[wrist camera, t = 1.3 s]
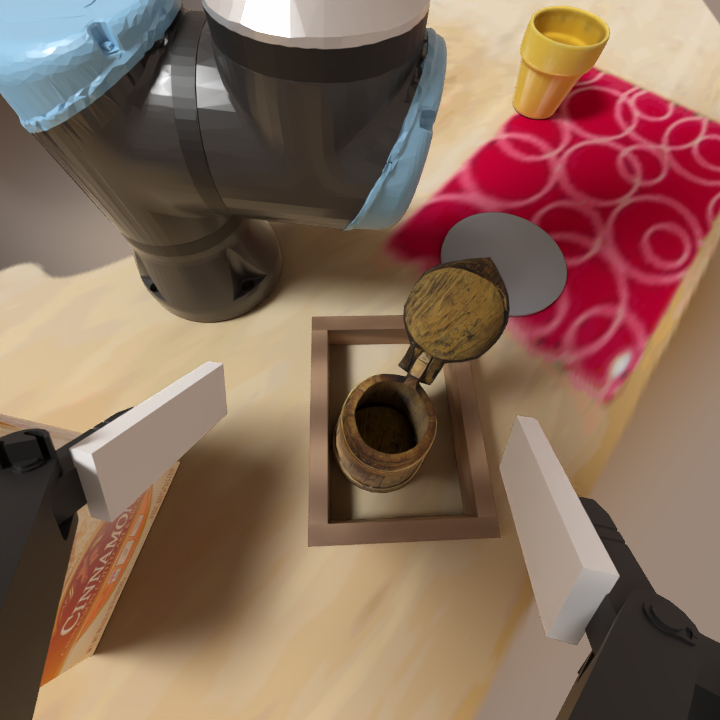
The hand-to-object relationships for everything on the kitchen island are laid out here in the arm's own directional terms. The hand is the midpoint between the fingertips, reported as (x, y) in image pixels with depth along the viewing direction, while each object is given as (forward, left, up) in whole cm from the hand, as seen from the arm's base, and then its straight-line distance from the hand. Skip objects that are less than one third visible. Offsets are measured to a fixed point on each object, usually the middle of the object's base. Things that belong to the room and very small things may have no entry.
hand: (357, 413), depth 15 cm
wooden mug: (-3, +4, -18) cm, 19 cm away
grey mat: (-22, +19, -18) cm, 34 cm away
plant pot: (-52, +30, -18) cm, 63 cm away
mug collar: (-3, +4, -18) cm, 18 cm away
